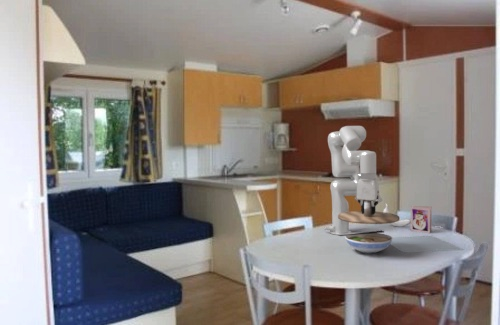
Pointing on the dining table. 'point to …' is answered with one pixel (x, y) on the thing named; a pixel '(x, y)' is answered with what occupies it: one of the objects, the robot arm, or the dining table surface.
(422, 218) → the greeting card
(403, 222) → the banana
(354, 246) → the ramen bowl
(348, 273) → the dining table surface
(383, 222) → the lid
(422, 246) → the mat
